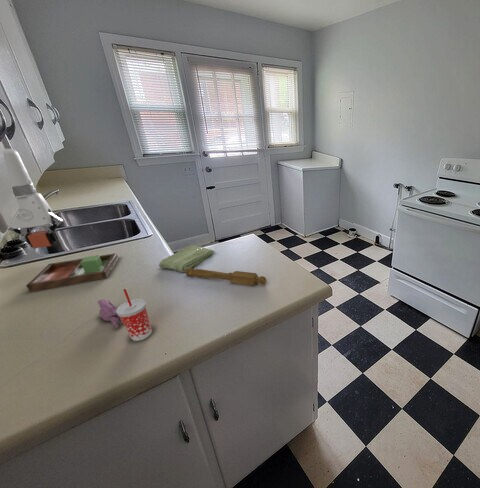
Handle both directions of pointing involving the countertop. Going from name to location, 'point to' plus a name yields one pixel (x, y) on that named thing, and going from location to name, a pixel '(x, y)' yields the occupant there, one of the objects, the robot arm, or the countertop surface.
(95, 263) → the green block
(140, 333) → the beverage cup
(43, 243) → the terracotta block
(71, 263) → the tray
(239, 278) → the tap handle
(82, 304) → the countertop surface
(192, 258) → the washcloth
